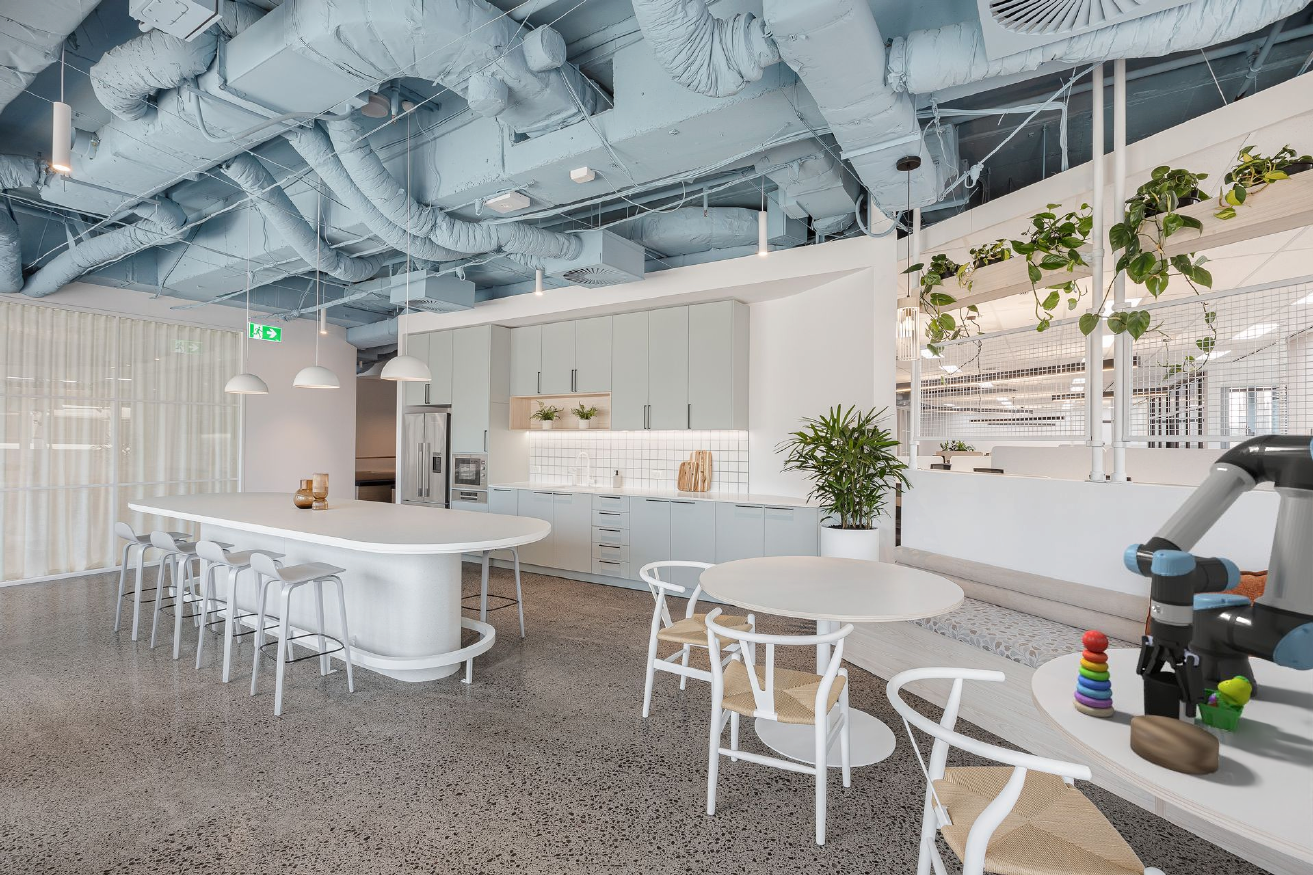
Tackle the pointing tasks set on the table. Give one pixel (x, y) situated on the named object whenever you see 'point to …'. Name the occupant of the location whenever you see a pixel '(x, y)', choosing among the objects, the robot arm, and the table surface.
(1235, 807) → the table surface
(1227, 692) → the fruit basket
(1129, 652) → the table surface
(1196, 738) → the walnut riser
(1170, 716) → the pen holder
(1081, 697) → the stacking toy
